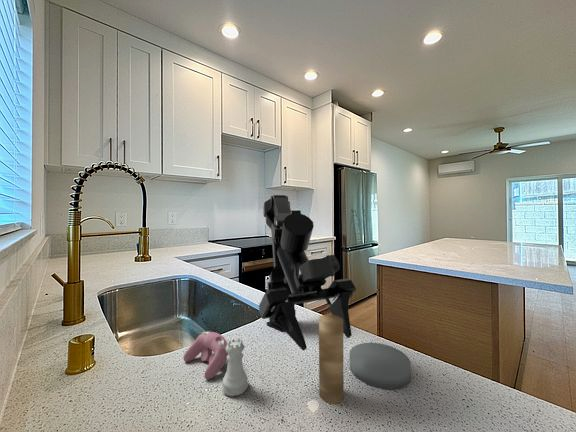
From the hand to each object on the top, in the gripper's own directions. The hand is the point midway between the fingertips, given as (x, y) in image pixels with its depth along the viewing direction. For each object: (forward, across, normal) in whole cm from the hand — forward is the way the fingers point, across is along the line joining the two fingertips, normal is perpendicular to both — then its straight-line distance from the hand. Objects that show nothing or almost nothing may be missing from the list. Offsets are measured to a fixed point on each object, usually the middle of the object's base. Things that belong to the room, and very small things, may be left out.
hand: (328, 342), depth 42 cm
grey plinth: (+5, +12, +6) cm, 15 cm away
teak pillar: (+6, 0, +6) cm, 8 cm away
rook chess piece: (0, -14, +12) cm, 18 cm away
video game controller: (-6, -17, +18) cm, 26 cm away
